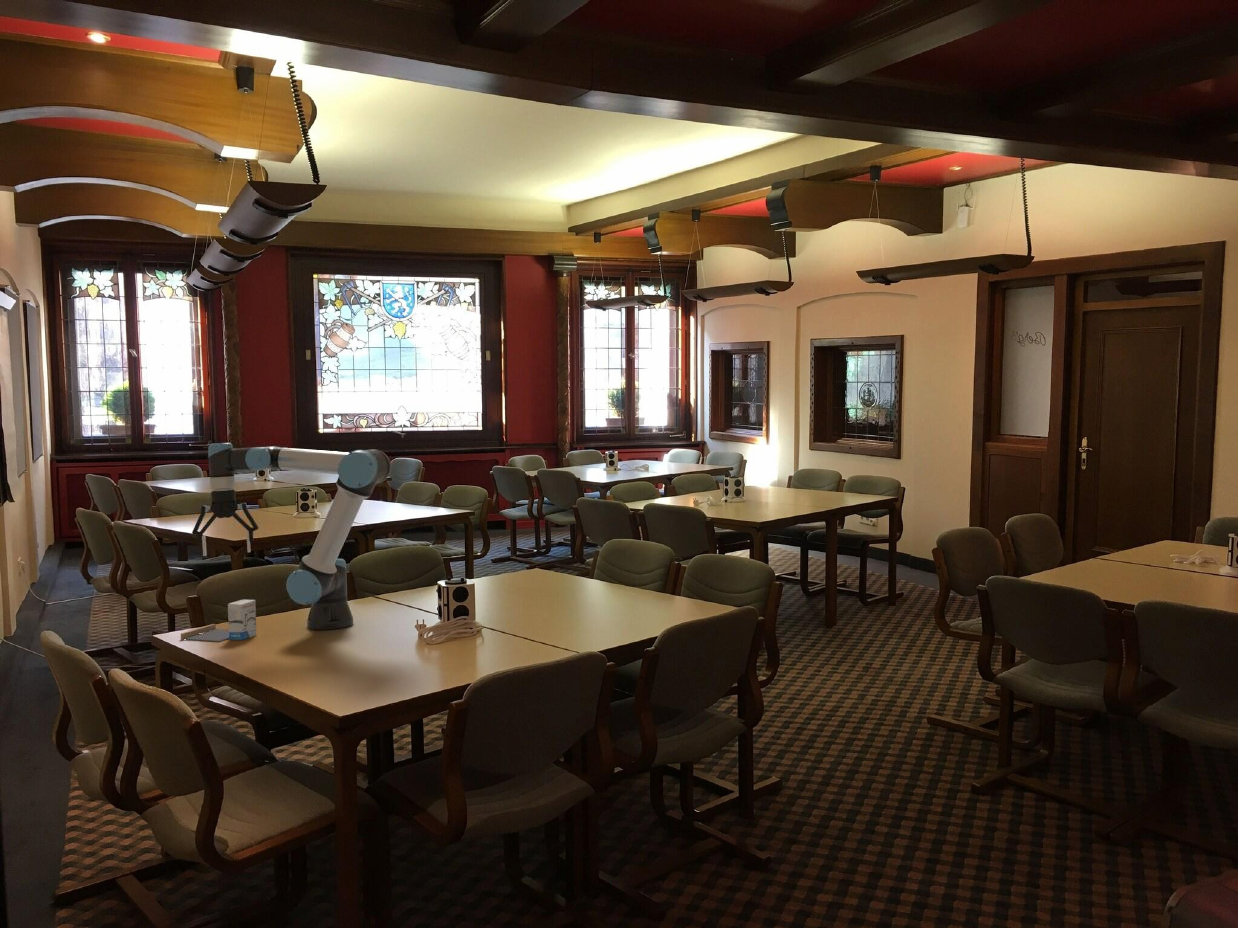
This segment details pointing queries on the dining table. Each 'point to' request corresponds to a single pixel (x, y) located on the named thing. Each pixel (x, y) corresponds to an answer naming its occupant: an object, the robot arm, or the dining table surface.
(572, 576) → the dining table surface
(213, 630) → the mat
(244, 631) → the ink box
